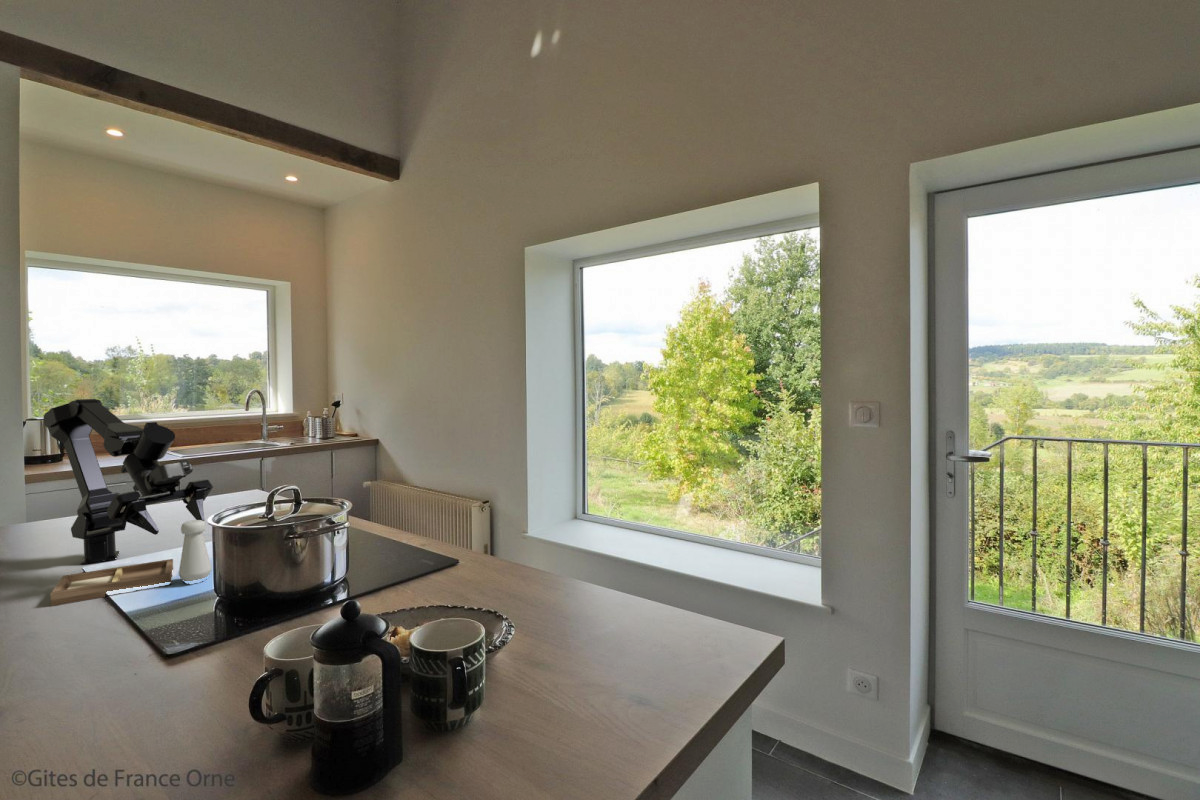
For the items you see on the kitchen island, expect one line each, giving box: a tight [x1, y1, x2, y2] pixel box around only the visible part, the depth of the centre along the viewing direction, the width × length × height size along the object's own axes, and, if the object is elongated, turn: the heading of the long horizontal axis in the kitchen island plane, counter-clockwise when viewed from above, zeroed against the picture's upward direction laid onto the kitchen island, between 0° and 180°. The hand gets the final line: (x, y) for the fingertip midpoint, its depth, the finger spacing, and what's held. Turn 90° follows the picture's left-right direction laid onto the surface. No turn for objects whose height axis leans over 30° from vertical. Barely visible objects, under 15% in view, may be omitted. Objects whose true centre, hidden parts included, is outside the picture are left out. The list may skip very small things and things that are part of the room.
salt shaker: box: [178, 519, 213, 581], centre depth 122 cm, size 6×6×13 cm
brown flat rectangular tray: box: [50, 558, 174, 607], centre depth 119 cm, size 12×18×2 cm, turn 125°
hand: (180, 527), depth 123 cm, fingers open, 9 cm apart
